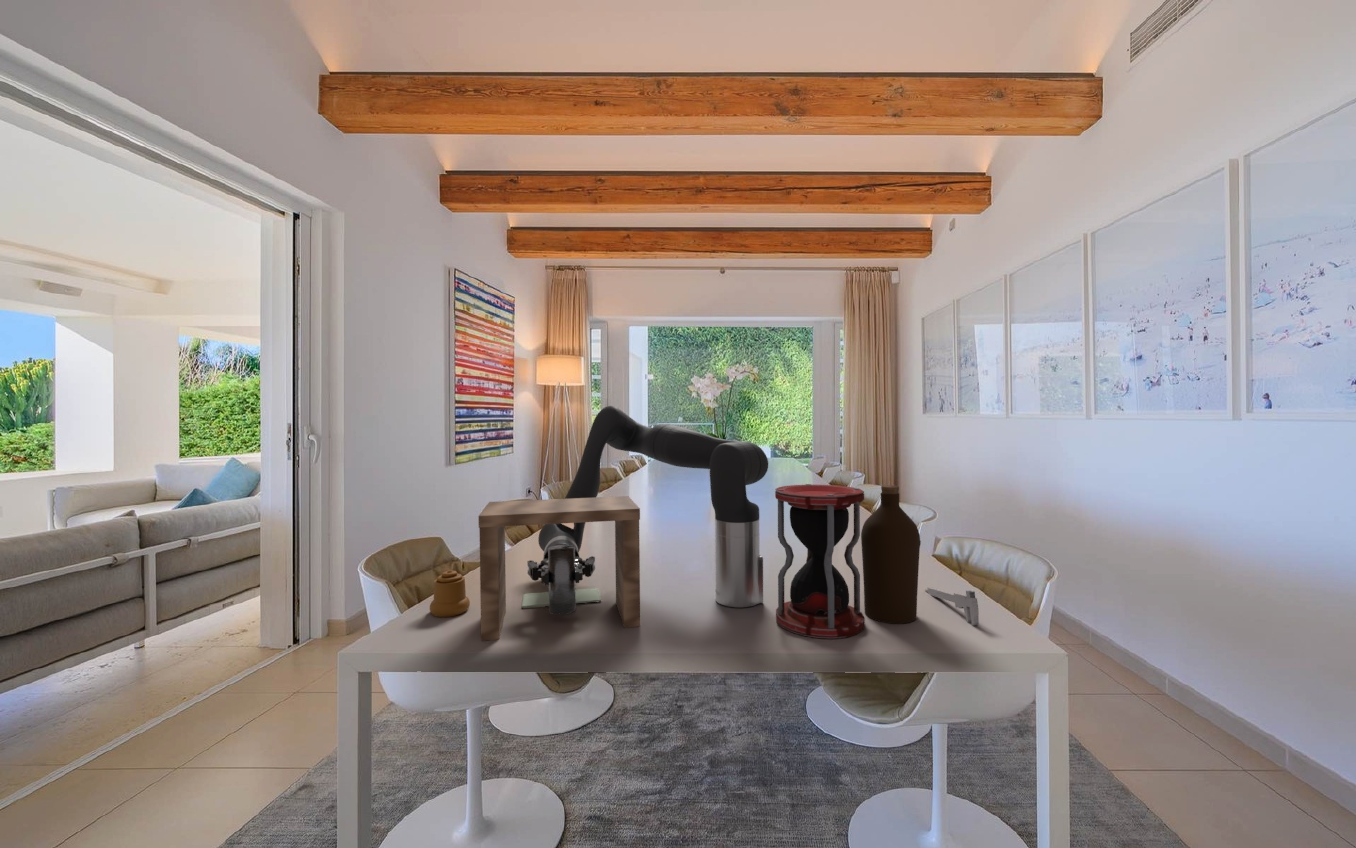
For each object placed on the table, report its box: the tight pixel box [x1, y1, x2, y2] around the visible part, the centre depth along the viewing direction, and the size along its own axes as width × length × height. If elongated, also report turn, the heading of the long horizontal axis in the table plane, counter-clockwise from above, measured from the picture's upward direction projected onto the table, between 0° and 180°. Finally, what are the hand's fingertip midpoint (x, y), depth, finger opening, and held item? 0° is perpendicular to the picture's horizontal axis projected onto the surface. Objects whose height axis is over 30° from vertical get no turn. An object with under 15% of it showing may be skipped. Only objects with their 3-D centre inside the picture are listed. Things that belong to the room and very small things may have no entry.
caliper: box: [924, 587, 980, 626], centre depth 111 cm, size 20×1×6 cm, turn 179°
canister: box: [548, 545, 577, 616], centre depth 106 cm, size 5×5×12 cm
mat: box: [521, 587, 602, 609], centre depth 118 cm, size 16×8×1 cm, turn 102°
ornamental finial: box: [429, 569, 471, 618], centre depth 111 cm, size 8×8×8 cm
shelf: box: [478, 495, 641, 642], centre depth 106 cm, size 28×16×22 cm, turn 102°
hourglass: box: [774, 483, 866, 640], centre depth 104 cm, size 16×16×25 cm
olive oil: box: [860, 484, 922, 625], centre depth 107 cm, size 11×11×25 cm
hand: (562, 578), depth 104 cm, fingers closed on canister, 5 cm apart
